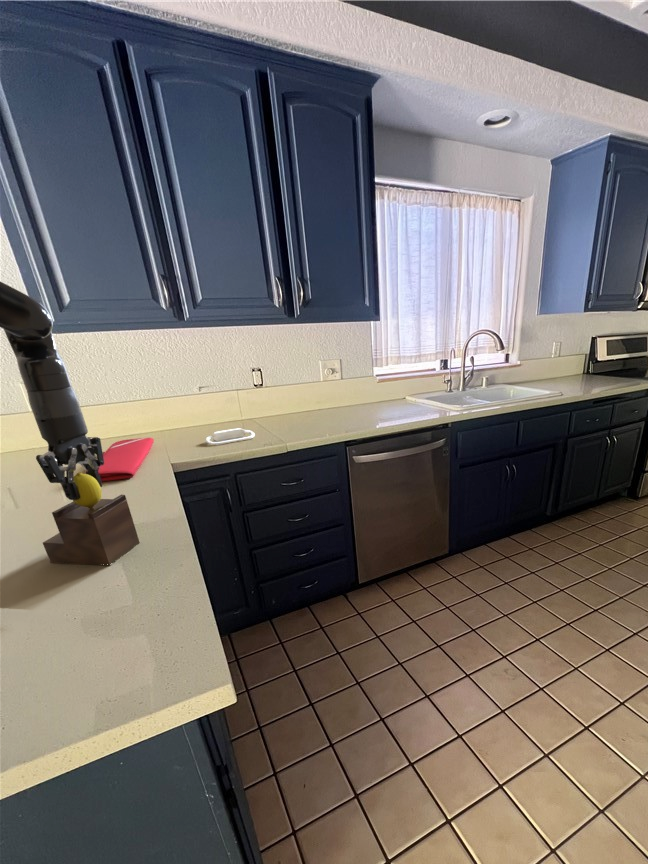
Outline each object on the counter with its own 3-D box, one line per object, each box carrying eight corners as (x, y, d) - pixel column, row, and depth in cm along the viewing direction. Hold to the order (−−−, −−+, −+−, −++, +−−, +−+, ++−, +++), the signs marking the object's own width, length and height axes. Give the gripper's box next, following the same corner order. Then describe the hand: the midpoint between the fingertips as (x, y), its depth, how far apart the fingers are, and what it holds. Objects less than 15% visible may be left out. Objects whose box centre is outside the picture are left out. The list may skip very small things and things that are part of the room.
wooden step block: (50, 562, 92) (29, 511, 87) (85, 540, 101) (67, 492, 96) (110, 565, 90) (91, 513, 85) (139, 542, 99) (125, 494, 94)
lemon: (88, 515, 87) (75, 478, 84) (69, 511, 89) (56, 475, 86) (112, 505, 92) (101, 469, 89) (94, 501, 94) (82, 467, 90)
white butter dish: (209, 449, 172) (208, 441, 170) (203, 441, 177) (202, 432, 175) (257, 441, 183) (257, 433, 180) (250, 432, 188) (250, 425, 185)
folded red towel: (79, 484, 135) (76, 473, 134) (113, 449, 171) (111, 440, 169) (134, 478, 139) (131, 467, 137) (156, 445, 175) (154, 436, 173)
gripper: (69, 405, 89) (94, 480, 96) (6, 421, 76) (41, 507, 83) (102, 405, 88) (125, 481, 95) (44, 421, 75) (75, 508, 82)
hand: (85, 493), depth 89 cm, fingers closed on lemon, 5 cm apart
